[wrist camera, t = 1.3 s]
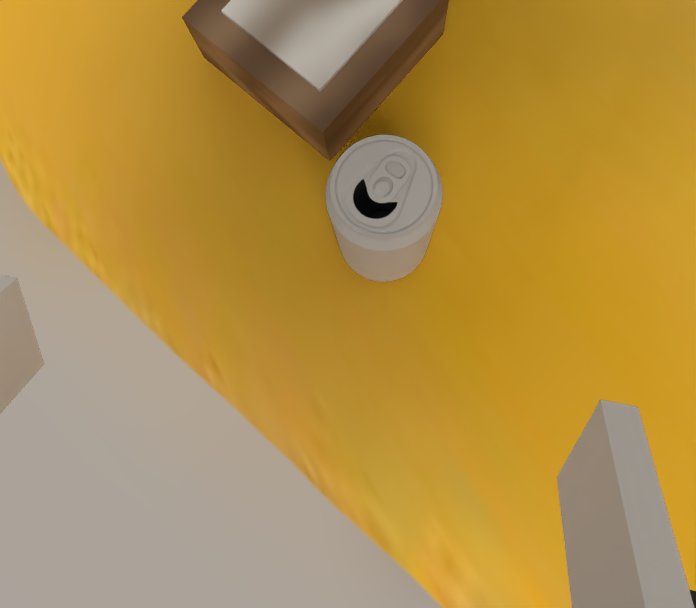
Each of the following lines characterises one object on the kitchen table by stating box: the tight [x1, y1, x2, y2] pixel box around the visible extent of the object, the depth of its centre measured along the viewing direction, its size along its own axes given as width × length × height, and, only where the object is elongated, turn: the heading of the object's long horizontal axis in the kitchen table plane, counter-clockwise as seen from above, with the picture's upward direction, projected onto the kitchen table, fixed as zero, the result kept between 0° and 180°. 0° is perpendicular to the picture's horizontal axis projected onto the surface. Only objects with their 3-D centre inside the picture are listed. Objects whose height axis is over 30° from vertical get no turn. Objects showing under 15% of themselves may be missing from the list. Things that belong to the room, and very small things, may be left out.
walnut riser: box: [182, 0, 449, 160], centre depth 41 cm, size 13×13×5 cm
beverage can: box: [325, 135, 443, 282], centre depth 36 cm, size 6×6×12 cm
